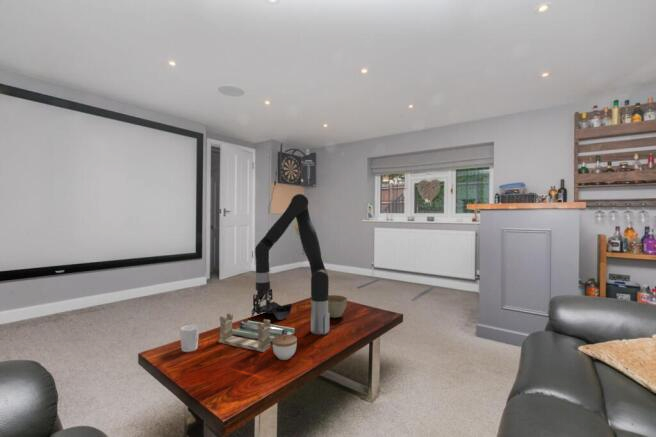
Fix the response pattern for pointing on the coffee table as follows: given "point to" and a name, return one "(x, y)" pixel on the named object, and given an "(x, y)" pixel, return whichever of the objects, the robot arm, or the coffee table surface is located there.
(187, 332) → the white cup
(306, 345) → the coffee table surface
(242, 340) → the rack
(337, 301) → the planter bowl
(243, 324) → the steel rod
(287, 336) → the lidded jar
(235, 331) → the mat tray
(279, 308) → the grey mechanical device
